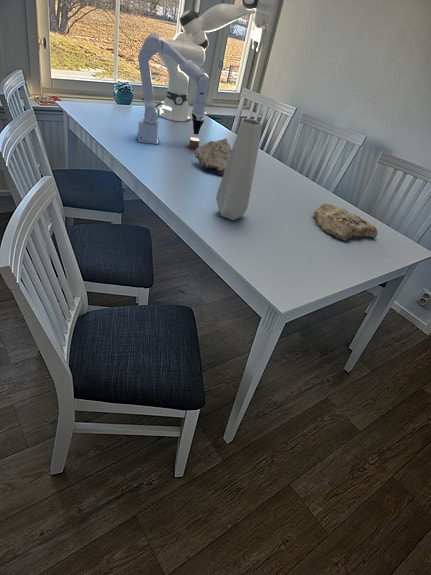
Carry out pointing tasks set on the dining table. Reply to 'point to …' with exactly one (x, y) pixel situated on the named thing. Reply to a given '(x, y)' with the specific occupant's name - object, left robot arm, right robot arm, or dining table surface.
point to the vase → (239, 171)
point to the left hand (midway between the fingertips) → (195, 131)
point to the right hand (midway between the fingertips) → (256, 50)
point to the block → (194, 143)
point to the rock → (214, 155)
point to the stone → (343, 223)
